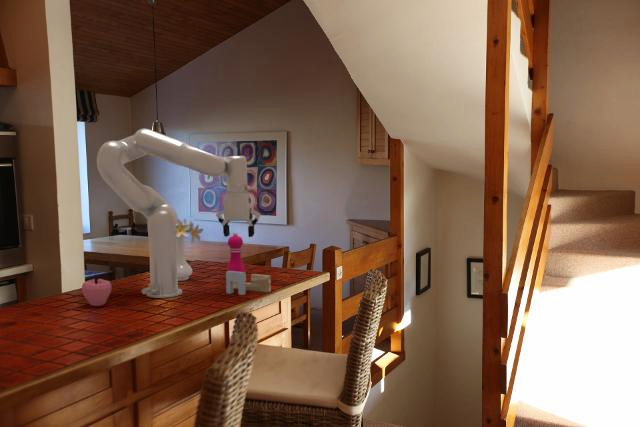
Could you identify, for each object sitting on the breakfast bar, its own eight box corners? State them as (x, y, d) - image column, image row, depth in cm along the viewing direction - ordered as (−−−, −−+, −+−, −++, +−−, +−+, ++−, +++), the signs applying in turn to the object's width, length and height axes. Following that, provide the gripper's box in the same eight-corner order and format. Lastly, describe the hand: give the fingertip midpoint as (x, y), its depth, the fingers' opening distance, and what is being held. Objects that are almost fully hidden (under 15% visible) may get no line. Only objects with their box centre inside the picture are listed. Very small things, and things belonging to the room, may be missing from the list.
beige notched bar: (268, 292, 215) (267, 276, 215) (227, 288, 223) (226, 272, 223) (270, 291, 217) (270, 275, 216) (230, 287, 225) (229, 271, 224)
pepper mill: (247, 279, 239) (246, 230, 237) (242, 283, 232) (242, 233, 230) (229, 279, 240) (228, 230, 238) (225, 283, 232) (223, 232, 230)
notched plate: (242, 294, 212) (242, 273, 211) (226, 293, 215) (225, 271, 214) (245, 293, 214) (245, 272, 213) (229, 292, 217) (229, 270, 216)
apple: (117, 304, 199) (116, 275, 198) (96, 310, 192) (94, 280, 191) (98, 301, 204) (97, 272, 203) (77, 306, 197) (75, 277, 196)
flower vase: (194, 284, 231) (192, 220, 228) (154, 281, 237) (152, 219, 234) (210, 277, 243) (209, 217, 241) (172, 275, 249) (170, 216, 246)
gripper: (263, 189, 215) (264, 235, 217) (220, 189, 220) (222, 234, 222) (255, 190, 208) (256, 238, 210) (211, 190, 213) (212, 237, 215)
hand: (238, 236), depth 216 cm, fingers open, 9 cm apart
